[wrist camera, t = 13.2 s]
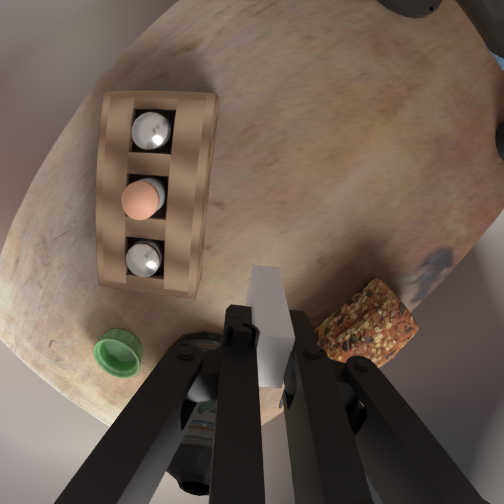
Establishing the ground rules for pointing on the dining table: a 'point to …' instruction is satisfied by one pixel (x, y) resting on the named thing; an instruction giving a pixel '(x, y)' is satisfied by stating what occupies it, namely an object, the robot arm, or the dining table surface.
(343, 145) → the dining table surface
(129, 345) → the ramekin
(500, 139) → the pen holder
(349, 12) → the dining table surface
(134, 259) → the plug
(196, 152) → the block
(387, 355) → the bread
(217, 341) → the beer stein
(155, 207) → the plug terracotta
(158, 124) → the plug
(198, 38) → the dining table surface
